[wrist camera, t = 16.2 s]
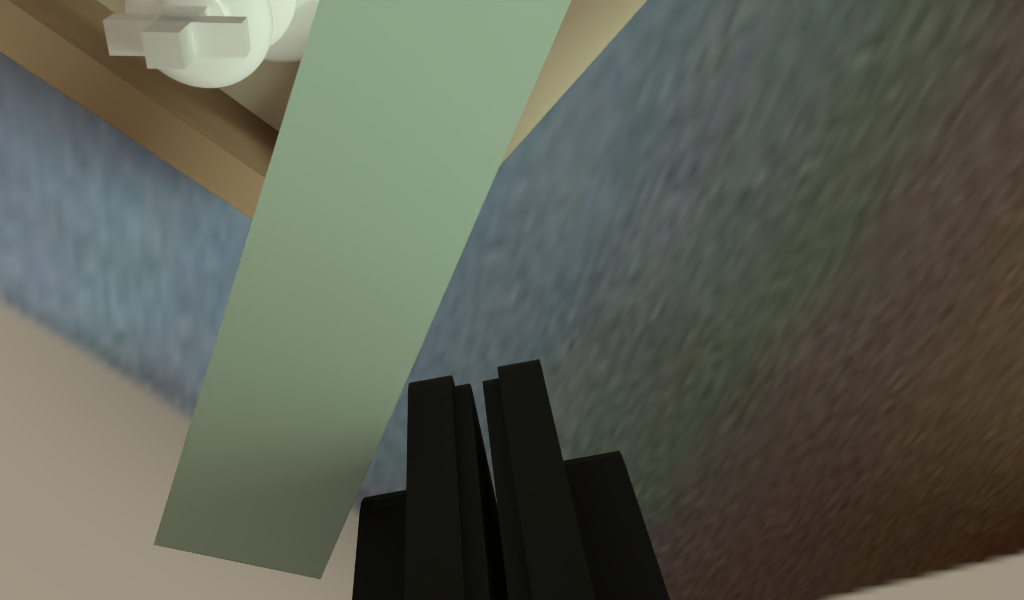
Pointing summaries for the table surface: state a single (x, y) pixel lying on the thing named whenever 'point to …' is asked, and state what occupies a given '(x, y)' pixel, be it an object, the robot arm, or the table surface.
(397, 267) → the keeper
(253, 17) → the chess piece
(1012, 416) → the table surface
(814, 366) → the table surface
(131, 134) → the pintle board
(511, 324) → the table surface
